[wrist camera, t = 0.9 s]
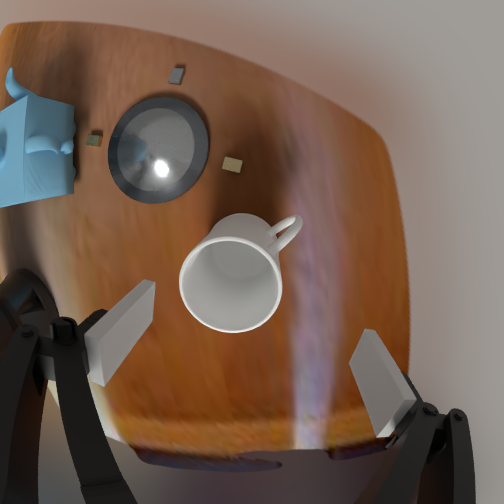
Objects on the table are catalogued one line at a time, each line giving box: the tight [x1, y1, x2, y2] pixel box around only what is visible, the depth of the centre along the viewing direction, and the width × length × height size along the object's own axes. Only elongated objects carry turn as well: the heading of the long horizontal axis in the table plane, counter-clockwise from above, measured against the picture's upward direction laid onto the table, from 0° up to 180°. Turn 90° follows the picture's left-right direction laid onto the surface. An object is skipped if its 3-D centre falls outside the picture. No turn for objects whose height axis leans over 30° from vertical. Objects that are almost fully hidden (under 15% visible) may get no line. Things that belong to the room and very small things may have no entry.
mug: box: [179, 213, 303, 333], centre depth 26 cm, size 12×8×12 cm
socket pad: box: [86, 68, 243, 204], centre depth 29 cm, size 21×17×1 cm
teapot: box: [0, 67, 76, 208], centre depth 23 cm, size 18×16×13 cm
